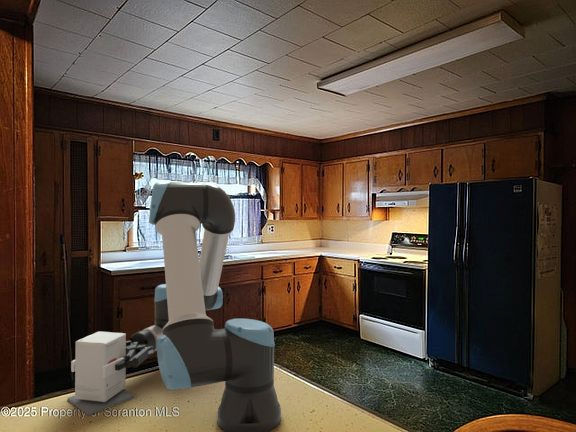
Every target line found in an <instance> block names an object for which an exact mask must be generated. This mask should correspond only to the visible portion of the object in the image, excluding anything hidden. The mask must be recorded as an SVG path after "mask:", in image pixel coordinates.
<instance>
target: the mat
mask: <svg viewBox="0 0 576 432" xmlns="http://www.w3.org/2000/svg"><path fill="white" fill-rule="evenodd" d="M135 396H136V395H135V394H134V393H131V391H130V392H129V391H128V390H126V389H125V388H124V389H123V390H121V391H120V392H118V393H117V394H116V395H114V396H113V397H111V398H110V399H108V400H107V401H106V402H100V401H91V400H83V399H75V395H72V396H69V397H67V401H68V402H69V403H70V404H72V405H73V406H75V407H76V408H77V409H79V410H80V411H81V412H83V413H84V414H86V415H87V416H91V415H93V414H96V413H98V412H101V411H103V410H106V409H109V408H112V407H114V406H116V405H118V404H121V403H124V402H126V401H129V400H132V399H135Z"/></svg>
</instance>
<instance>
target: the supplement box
mask: <svg viewBox="0 0 576 432" xmlns="http://www.w3.org/2000/svg"><path fill="white" fill-rule="evenodd" d="M126 336H127V334H126V333H123V332H113V331H112V332H111V331H96V332H94V333H92V334H90V335H87V336H85V337H83V338H80V339H78V340H76V341H75V357H74V358H75V359H74V360H75V373H74V380H75V381H74V389H75V390H74V392H75V393H74V396H75V399H83V400H91V401H100V402H106V401H107V400H108V399H110V398H111V397H113V396H114V395H116V394H117V393H118V392H120V391H121V390H123V389H125V388H126V387H127V386H126V380H127V379H126V376H127V374H126V373H127V372H126V371H127V369H126V368H123V369H121V370H119V371H117V372H115V373H113V374H111V375H110V376H108V377H106V378H103V366H105V365H107V364H109V363H111V362H113V361H115V360H117V359H119V358H124V360H125V355H126V341H127V338H126Z"/></svg>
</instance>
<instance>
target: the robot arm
mask: <svg viewBox="0 0 576 432" xmlns="http://www.w3.org/2000/svg"><path fill="white" fill-rule="evenodd" d="M151 190H152V191H151V199H150V207H149V215H148V223H149V225H150V224H151V225H154V226H155V230H156V232H157V233H158V234H159V235H161V236H162V248H163V249H162V251H163V264H164V273H165V274H164V276H165V277H164V278H165V283H164V284H163V283H162V284H159V285H157V286H156V287H155V290H154V299H153V300H154V301H153V302H154V324H153V325H150V326H149V327H146V328H144V329H142V330H140V331H137V332H135V333H133V334H132V335H131V336H130V338H129V339H128V340H126V355H125V360H124V358H119V359H117V360H115V361H113V362H111V363H109V364H107V365H105V366H103V378H106V377H108V376H110V375H111V374H113V373H115V372H117V371H119V370H121V369H123V368H127V369H128V368H130V367H132V368H133V369H134V368H138V367H139V366H140V365H141V364H142V363H143V362H144V361H145V360H147V359H148V358H149V357H151V356H153V355H154V353H155V352H157V353H156V354H157V363H158V368H159V373H160V377H161V380H162V383H163V384H164V386H165V387H166V389H168V390H171V391H177V390H184V389H186V390H190V389H191V388H193V387H195V388H196V387H200V386H205V385H211V384H218V383H222V382H223V383H225V384H224V385H225V386H224V390H223V393H222V396H221V399H220V404H219V406H218V408H217V424H218V426H219V427H220V429H222V430H223V431H225V432H270V431H272V430H274V429H276V427H277V426H278V425H279V424H280V422H281V420H282V407H281V404H280V402H279V401H278V395H277V392H276V388H275V346H276V344H275V336H274V333H275V332H274V329H273V327H272V326H271V325H270V324H268V323H267V322H264V321H262V320H257V319H252V318H231V319H228V320H227V321H225V324H224V328H218V329H217V328H215V326H214V325H215V324H214V323H215V322H214V320H213V319H212V318H211V317H209V316H207V313H206V311H211V310H216V309H220V308H221V307H222V306H223V298H224V295H223V291H222V289H221V287H220V286H219V284H220V279H221V276H222V270H223V265H224V261H225V255H226V251H227V245H228V243H229V242H228V241H229V237H230V234H231V233H232V232H233V231H234V228H235V224H236V211H235V207H234V204H233V202H232V199H231V198H230V196H229V195H228V194H227V192H226V191H225V190H223V189H222V188H221V187H220V186H218V185H216V184H213V183H210V182H183V181H181V182H179V181H175V182H174V181H171V180H169V181H158V182H156V183H154V185H153V186H152V189H151ZM201 226H202V229H204V230H203V238H202V242H201V248H200V249H201V250H200V257H199V251H198V250H199V249H198V244H197V243H198V241H197V234H196V232H197V231H198V230H199V229H200V227H201ZM70 362H71V363H70V364H71V365H70V368H71V369H70V370H71V371H70V372H72V373H74V372H75V359H73V360H71V361H70Z"/></svg>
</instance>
